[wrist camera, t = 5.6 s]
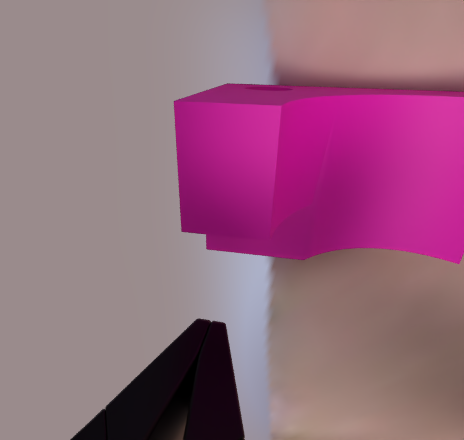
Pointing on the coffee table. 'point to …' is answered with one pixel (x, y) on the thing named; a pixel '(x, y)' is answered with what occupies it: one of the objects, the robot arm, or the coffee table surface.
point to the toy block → (322, 169)
